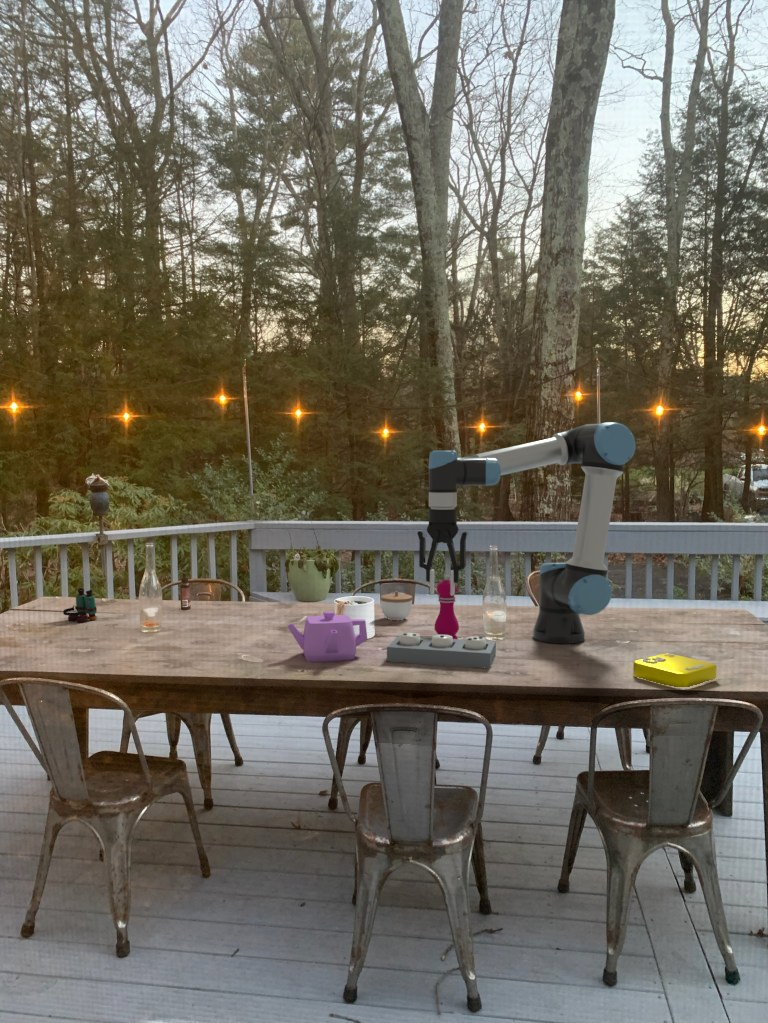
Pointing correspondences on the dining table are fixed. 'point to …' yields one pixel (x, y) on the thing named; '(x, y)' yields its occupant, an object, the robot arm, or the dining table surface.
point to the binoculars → (82, 607)
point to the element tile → (674, 670)
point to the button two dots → (410, 639)
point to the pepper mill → (446, 610)
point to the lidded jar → (396, 605)
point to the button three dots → (475, 643)
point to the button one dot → (442, 641)
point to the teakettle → (329, 637)
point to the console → (441, 653)
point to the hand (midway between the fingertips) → (442, 594)
